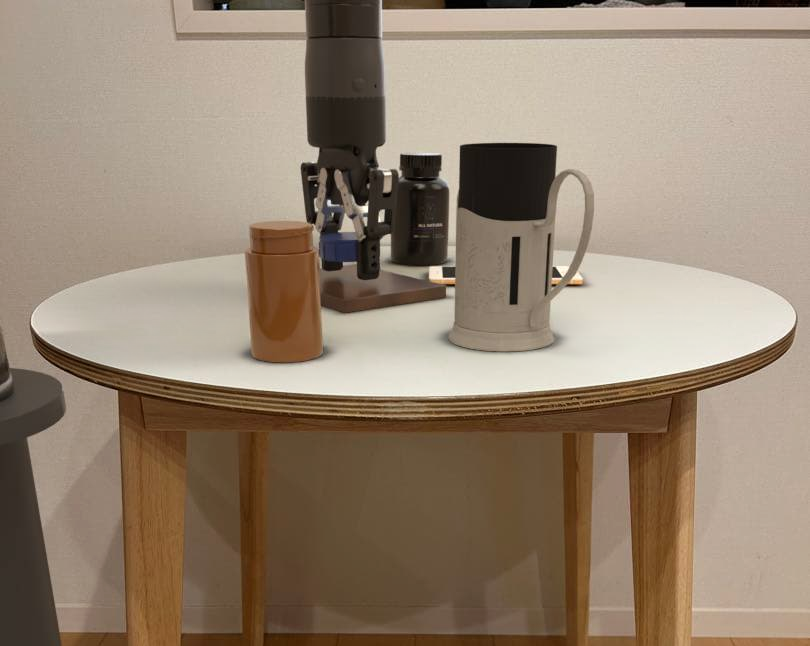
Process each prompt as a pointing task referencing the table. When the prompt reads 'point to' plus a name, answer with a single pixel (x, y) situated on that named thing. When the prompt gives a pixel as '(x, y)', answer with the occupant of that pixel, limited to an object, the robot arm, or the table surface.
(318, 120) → the robot arm
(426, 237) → the supplement bottle
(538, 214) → the glass holder
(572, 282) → the cell phone
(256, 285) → the jar
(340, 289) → the serving board
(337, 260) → the jar lid
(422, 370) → the table surface
